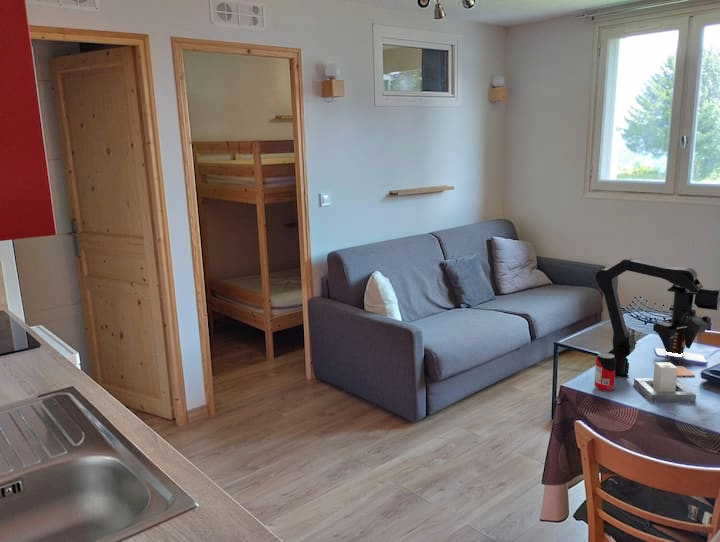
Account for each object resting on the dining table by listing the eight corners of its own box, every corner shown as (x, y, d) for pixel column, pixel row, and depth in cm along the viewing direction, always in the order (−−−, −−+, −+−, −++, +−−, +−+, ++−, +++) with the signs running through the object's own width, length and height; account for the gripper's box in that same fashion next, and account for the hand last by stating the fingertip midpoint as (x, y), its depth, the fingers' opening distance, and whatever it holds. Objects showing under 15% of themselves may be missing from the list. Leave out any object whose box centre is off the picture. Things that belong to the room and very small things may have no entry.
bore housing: (651, 401, 184) (652, 394, 183) (633, 385, 197) (634, 378, 197) (695, 402, 183) (696, 394, 183) (674, 385, 197) (675, 378, 196)
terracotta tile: (668, 376, 204) (669, 375, 204) (657, 367, 213) (657, 366, 213) (694, 376, 203) (695, 375, 203) (682, 367, 212) (682, 366, 212)
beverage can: (615, 392, 191) (617, 359, 189) (595, 391, 193) (597, 357, 191) (612, 385, 197) (615, 352, 195) (593, 383, 199) (595, 351, 197)
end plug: (659, 396, 188) (661, 367, 186) (652, 390, 193) (654, 362, 191) (674, 396, 188) (677, 367, 186) (667, 390, 193) (670, 362, 191)
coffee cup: (681, 351, 229) (684, 320, 226) (690, 359, 221) (694, 326, 218) (658, 351, 230) (661, 320, 227) (667, 358, 222) (670, 326, 219)
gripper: (683, 314, 179) (678, 361, 182) (725, 308, 185) (719, 353, 188) (654, 306, 189) (649, 350, 192) (694, 300, 195) (689, 343, 199)
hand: (677, 349), depth 193 cm, fingers open, 9 cm apart
